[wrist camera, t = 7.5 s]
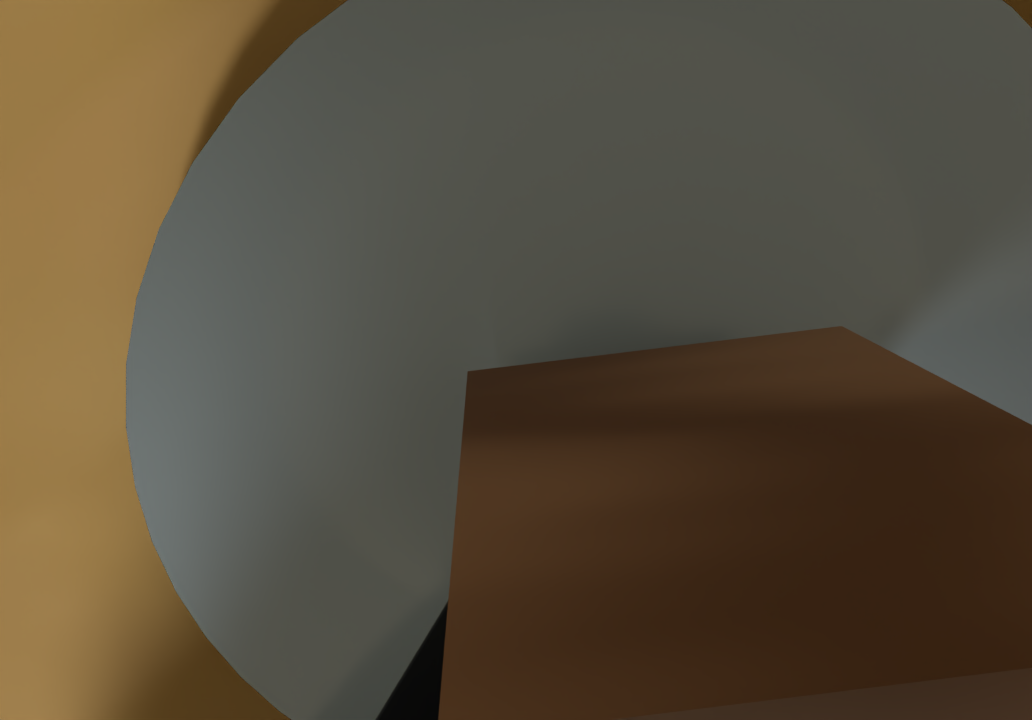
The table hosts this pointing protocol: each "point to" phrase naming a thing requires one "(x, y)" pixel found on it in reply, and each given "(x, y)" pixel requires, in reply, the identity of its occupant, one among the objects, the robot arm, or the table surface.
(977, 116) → the dish
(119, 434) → the table surface
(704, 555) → the walnut block
